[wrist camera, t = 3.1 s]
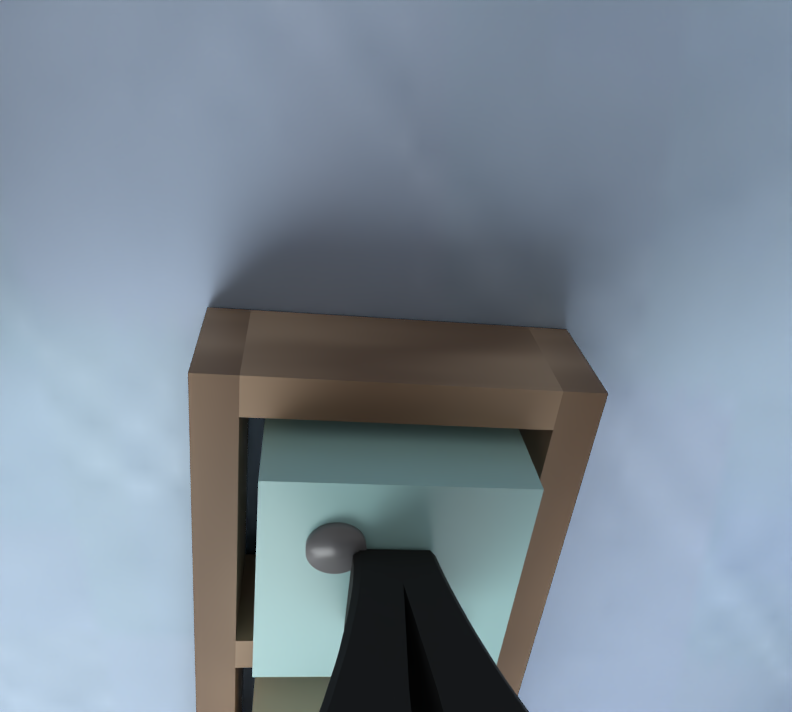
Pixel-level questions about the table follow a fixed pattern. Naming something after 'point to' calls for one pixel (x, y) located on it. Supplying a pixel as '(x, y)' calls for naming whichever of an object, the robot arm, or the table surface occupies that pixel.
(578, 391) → the tile tray
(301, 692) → the tile one
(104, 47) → the table surface
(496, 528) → the tile two
